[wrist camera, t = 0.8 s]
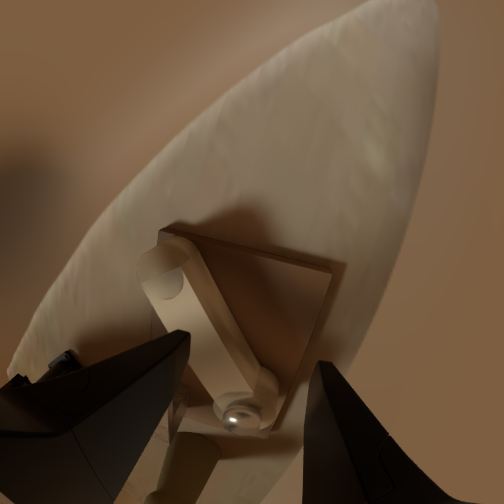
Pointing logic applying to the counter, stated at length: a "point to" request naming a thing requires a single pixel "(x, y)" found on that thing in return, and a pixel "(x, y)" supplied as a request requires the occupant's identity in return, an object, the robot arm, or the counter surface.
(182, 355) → the robot arm
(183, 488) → the cork
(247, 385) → the latch arm
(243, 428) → the keeper
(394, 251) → the counter surface
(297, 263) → the base plate
